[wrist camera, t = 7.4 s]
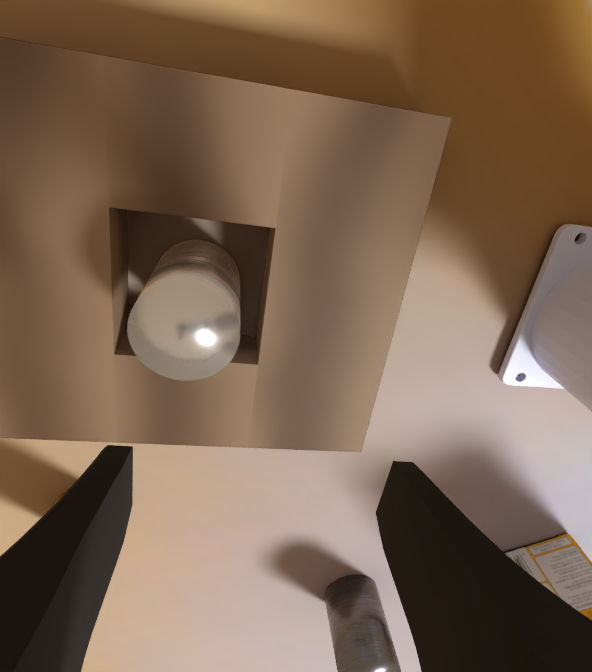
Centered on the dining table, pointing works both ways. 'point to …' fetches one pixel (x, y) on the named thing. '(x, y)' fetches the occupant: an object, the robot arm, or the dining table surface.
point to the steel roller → (188, 312)
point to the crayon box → (560, 570)
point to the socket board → (212, 204)
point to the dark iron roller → (359, 626)
